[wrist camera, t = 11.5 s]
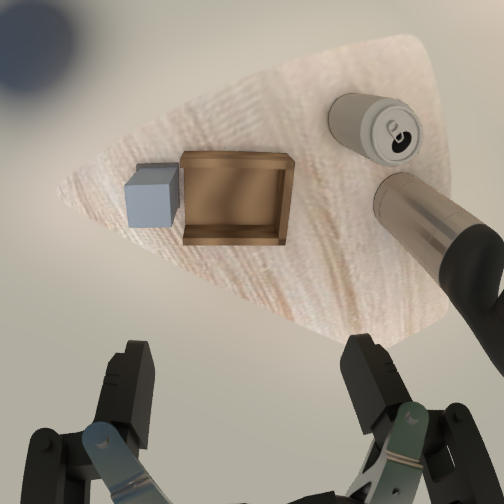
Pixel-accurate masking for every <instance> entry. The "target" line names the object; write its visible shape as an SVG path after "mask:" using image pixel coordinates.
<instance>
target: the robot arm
mask: <svg viewBox="0 0 504 504" xmlns="http://www.w3.org/2000/svg"><path fill="white" fill-rule="evenodd" d="M374 212H375V216H376V218H377V219H378V221H379V222H380V223H381V224H382V225H383V226H384V227H385V228H386V229H387V230H388V231H389V232H390V233H391V234H392V235H393V236H394V237H395V238H396V239H397V240H398V241H399V242H400V244H401V245H402V246H403V247H404V248H405V249H406V250H407V251H408V252H409V253H410V254H411V255H412V256H413V257H414V258H415V259H416V261H417V262H418V263H419V264H420V265H421V266H422V267H423V268H424V269H425V270H426V272H427V273H428V274H429V275H430V276H431V277H432V278H433V279H434V280H435V282H436V283H437V284H438V285H439V286H440V287H441V288H442V290H443V291H444V292H445V293H446V294H447V296H448V297H449V299H450V301H451V302H452V303H453V305H454V306H455V308H456V309H457V310H458V312H459V313H460V314H461V315H462V317H463V318H464V320H465V321H466V322H467V324H468V325H469V327H470V328H471V330H472V331H473V333H474V335H475V336H476V338H477V339H478V341H479V342H480V344H481V346H482V347H483V349H484V350H485V352H486V354H487V355H488V357H489V358H490V360H491V361H492V363H493V364H494V365H495V367H496V368H497V370H498V371H499V372H500V373H501V375H502V376H503V377H504V290H503V291H502V293H501V294H500V296H499V297H498V291H499V285H500V280H501V276H502V273H503V269H504V242H503V240H502V238H501V237H500V236H499V235H498V234H497V233H496V232H495V231H494V230H493V229H491V228H490V227H488V226H487V225H486V224H484V223H483V222H482V221H480V220H479V219H478V218H476V217H475V216H473V215H472V214H471V213H469V212H468V211H466V210H465V209H463V208H462V207H460V206H459V205H457V204H456V203H455V202H453V201H452V200H450V199H449V198H447V197H446V196H444V195H443V194H441V193H440V192H438V191H436V190H435V189H433V188H432V187H430V186H428V185H427V184H425V183H424V182H422V181H420V180H419V179H417V178H415V177H414V176H412V175H410V174H407V173H397V174H394V175H392V176H390V177H389V178H387V179H386V180H385V181H384V182H383V183H382V184H381V186H380V187H379V189H378V191H377V192H376V195H375V199H374ZM340 370H341V373H342V376H343V379H344V381H345V384H346V387H347V390H348V392H349V395H350V398H351V401H352V403H353V406H354V409H355V412H356V414H357V417H358V420H359V423H360V426H361V429H362V432H363V434H364V435H366V434H370V433H373V435H374V439H373V441H372V443H371V445H370V448H369V451H368V453H367V455H366V458H365V460H364V463H363V465H362V467H361V469H360V472H359V474H358V476H357V478H356V479H355V481H354V482H353V483H352V485H351V486H350V488H349V489H348V491H347V493H346V495H345V496H339V495H335V493H334V491H330V492H326V493H321V494H316V495H311V496H306V497H303V498H301V499H298V500H296V501H293V502H291V503H288V504H412V503H413V500H414V497H415V494H416V491H417V488H418V485H419V482H420V479H421V475H422V473H423V476H424V479H425V483H426V486H427V489H428V493H429V497H430V500H431V504H504V496H503V493H502V490H501V487H500V484H499V481H498V478H497V475H496V473H495V470H494V467H493V465H492V462H491V459H490V457H489V454H488V452H487V449H486V447H485V444H484V442H483V440H482V437H481V435H480V433H479V430H478V428H477V426H476V424H475V421H474V419H473V417H472V415H471V413H470V411H469V409H468V408H467V407H466V406H465V405H463V404H461V403H452V404H450V405H449V406H448V407H447V408H446V409H445V410H426V409H425V407H424V406H423V405H421V404H420V403H418V402H413V400H412V399H411V397H410V395H409V393H408V391H407V389H406V387H405V385H404V383H403V381H402V379H401V377H400V375H399V373H398V372H397V369H396V367H395V365H394V364H393V361H392V359H391V357H390V355H389V353H388V352H387V351H386V350H385V349H384V348H383V347H382V346H381V345H380V344H376V345H375V344H374V342H373V340H372V338H371V336H370V335H369V334H368V333H366V334H357V335H351V336H350V337H349V339H348V341H347V344H346V346H345V349H344V352H343V354H342V357H341V360H340ZM154 382H155V367H154V362H153V359H152V355H151V352H150V348H149V344H148V342H147V341H135V340H134V341H133V340H129V341H128V342H127V345H126V349H125V353H116V354H115V355H114V356H113V357H112V359H111V360H110V361H109V362H108V366H107V370H106V376H105V377H104V381H103V385H102V389H101V393H100V397H99V401H98V406H97V410H96V414H95V418H94V421H93V423H92V424H90V425H89V426H88V427H87V428H86V429H85V430H83V431H81V432H77V433H69V434H60V435H59V434H58V433H56V432H55V431H54V430H52V429H50V428H41V429H39V430H37V431H35V432H34V433H33V435H32V436H31V439H30V443H29V448H28V453H27V458H26V464H25V471H24V476H23V484H22V492H21V502H20V504H90V485H91V484H90V483H91V480H95V479H102V480H103V481H104V483H105V485H106V486H107V488H108V489H109V491H110V493H111V499H112V501H113V502H114V504H173V503H172V502H171V501H170V500H169V499H168V497H167V496H166V495H165V494H164V493H163V491H162V490H161V489H160V488H159V486H158V485H157V484H156V483H155V481H154V480H153V479H152V477H151V476H150V475H149V473H148V472H147V471H146V470H145V468H144V467H143V465H142V464H141V463H140V461H139V460H138V456H139V449H147V445H148V433H149V424H150V415H151V406H152V397H153V389H154ZM447 445H448V448H449V451H450V453H451V456H452V459H453V461H454V464H455V467H454V464H453V461H452V459H451V456H450V453H449V451H448V448H447ZM242 504H246V503H242Z"/></svg>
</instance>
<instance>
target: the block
mask: <svg viewBox="0 0 504 504" xmlns="http://www.w3.org/2000/svg"><path fill="white" fill-rule="evenodd" d="M124 190H125V200H126V209H127V217H128V225H129V228H153V227H172V224H173V221H174V217H175V214H176V211H177V208H178V205H179V197H178V167H170V168H142V169H139V170H138V171H137V172H136V173H135V174H134V175H133V176H132V177H131V179H130V180H129V181H128V182H127V183H126V184H125V185H124Z"/></svg>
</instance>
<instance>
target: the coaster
mask: <svg viewBox="0 0 504 504" xmlns="http://www.w3.org/2000/svg"><path fill="white" fill-rule="evenodd" d="M170 167H178V197H179V163H151V164H137V165H136V171H138V170H139V169H142V168H170ZM179 207H180V197H179V205H178V208H179Z"/></svg>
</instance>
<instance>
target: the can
mask: <svg viewBox="0 0 504 504" xmlns="http://www.w3.org/2000/svg"><path fill="white" fill-rule="evenodd" d="M329 126H330V130H331V133H332V134H333V136H334V137H335V139H336V140H337V141H338V142H340V143H341V144H342V145H344V146H346V147H348V148H350V149H352V150H353V151H355V152H357V153H359V154H361V155H362V156H364V157H366V158H368V159H370V160H371V161H373V162H375V163H377V164H379V165H382V166H385V167H394V166H398V165H402V164H405V163H408V162H409V161H410V160H412V159H413V158H414V157H415V156H416V154H417V153H418V152H419V149H420V147H421V144H422V138H423V132H422V125H421V123H420V121H419V118H418V117H417V116H416V114H415V113H414V112H413V110H412V109H411V108H410V107H409V106H408V105H407V104H406V103H404V102H402V101H401V100H399V99H393V98H388V97H380V96H373V95H364V94H355V93H351V94H347V95H344V96H342V97H340V98H339V99H337V101H336V102H335V103H334V104H333V106H332V108H331V110H330V113H329Z"/></svg>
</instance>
